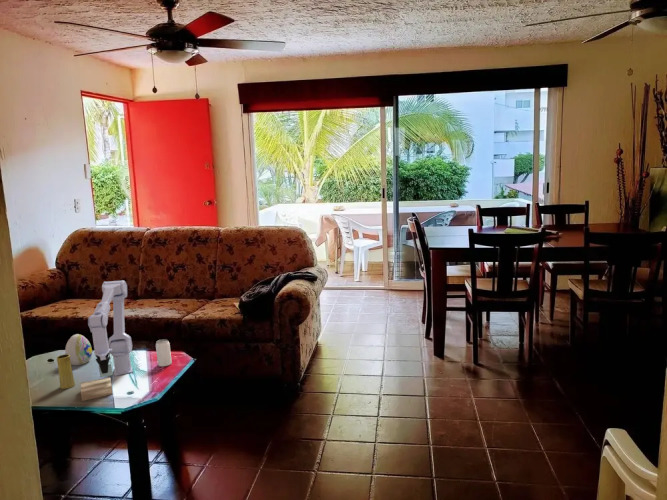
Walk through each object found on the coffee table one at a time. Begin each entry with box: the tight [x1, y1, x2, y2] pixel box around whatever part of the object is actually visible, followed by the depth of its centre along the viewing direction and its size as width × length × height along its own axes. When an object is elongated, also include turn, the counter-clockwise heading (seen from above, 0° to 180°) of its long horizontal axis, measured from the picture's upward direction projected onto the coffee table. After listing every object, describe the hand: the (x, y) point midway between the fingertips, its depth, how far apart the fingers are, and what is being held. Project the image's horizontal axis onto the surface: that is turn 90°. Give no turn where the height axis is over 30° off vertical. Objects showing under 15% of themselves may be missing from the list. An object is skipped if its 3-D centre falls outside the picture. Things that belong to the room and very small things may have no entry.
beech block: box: [80, 376, 114, 402], centre depth 228 cm, size 12×12×4 cm
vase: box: [56, 354, 76, 390], centre depth 236 cm, size 6×6×14 cm
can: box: [155, 338, 173, 368], centre depth 256 cm, size 6×6×12 cm
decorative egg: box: [64, 333, 93, 366], centre depth 267 cm, size 12×12×15 cm
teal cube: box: [98, 360, 113, 378], centre depth 229 cm, size 5×5×5 cm
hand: (104, 371), depth 229 cm, fingers closed on teal cube, 5 cm apart
